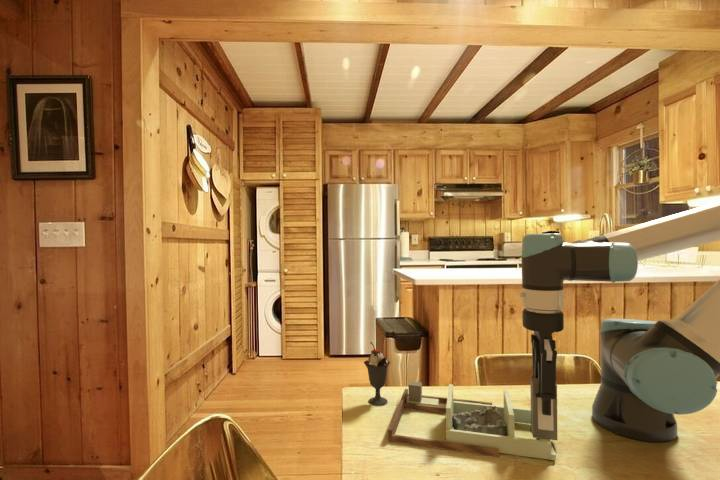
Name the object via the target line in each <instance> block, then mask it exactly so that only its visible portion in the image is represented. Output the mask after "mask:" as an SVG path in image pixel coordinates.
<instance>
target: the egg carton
mask: <svg viewBox="0 0 720 480" xmlns="http://www.w3.org/2000/svg"><path fill="white" fill-rule="evenodd" d="M496 406H497V405H496ZM496 406H493V407H492V406H489V407H487V406H486V407H482V409H481V410H474V411H471V412H462V413H460V414H456V413H455V414H453V416H452V417H453V428H452V429H454V430H462V431H470V432H478V433H486V434H494V435H501V436H507V435H506V427H507V423H505V421H504V419H501V416H500V413H499V412H498V411H497V409H496Z"/></svg>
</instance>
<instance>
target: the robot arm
mask: <svg viewBox="0 0 720 480" xmlns="http://www.w3.org/2000/svg"><path fill="white" fill-rule="evenodd" d="M718 241H720V201H716V202H712V203H709V204H705V205H703V206H702V205H701V206H698V207H695V208H692V209H689V210H685V211H680V212H678V213H675V214H674V213H673V214H670V215H667V216H664V217H660V218H657V219H652V220H649V221H647V222H643V223H639V224H636V225H633V226H630V227H625V228H621V229H618V230H614V231H612V232H608V233H604V234H602V235H598V236H594V237H590V238H587V239H584V240H582V239H580V240H579V239H578V240H575V241H573V242H565V240H564V237H563V234H561V233H556V232H555V233H527V234H525V235H524V236H523V237H522V240H521V255H520V256H521V280H522V281H521V284H522V286H521V287H522V292H519V293H518V296H519V297H520V298H522V307H523V310H522V326H523V328H525V329H526V330H528V331H532V332H533V333H531V334H530V343H531V356H532V357H531V359H532V360H531V362H532V375H531V378H538V382H539V393H538V394H537V393H535V397H538V429H542V430H550V431H554V427H553V399H556V384H557V356H558V351H557V350H556V349H557V348H556V347H557V345H556V343H557V342H556V340H555V339H554V338H553V334H554V333H559V332H562V331H563V330H564V327H565V325H564V324H565V323H564V320H565V319H564V313H563V311H562V310H563V309H564V308H565V307H564V306H565V305H564V304H565V301H564V300H565V297H564V295H565V294H564V293H565V291H564V281H570V282H572V281H579V282H606V283H607V282H611V284H612V283H613V284H614V283H618V282H621V283H622V282H631V281H633V280H634V279H635V277H636V276H637V272H638V268H639V267H638V265H639V264H638V263H639V261H645V260H647V259H651V258H656V257H659V256H664V255H668V254H671V253H675V252H679V251H682V250H687V249H690V248H695V247H698V246H702V245H706V244H711V243H713V242H718ZM599 335H600V339H599V340H600V384H599V388H598V390H597V393H596V395H595V398H594V400H593V403H592V406H591V409H592V410H591V412H592V413H591V415H592V419H593V421H595V423H597V424H598V425H599V426H600V427H602V428H604V429H606V430H608V431H610V432H613V433H614V434H617V435H619V436H623V437H626V438H629V439H633V440H637V441H642V442H643V441H644V442H650V443H651V442H652V443H667V442H671V441H674V440H675V439H676V438H677V437H678V423H677V420H676V417H675V415H680V416H681V415H691V414H695V413H697V412H700V411H702V410H704V409H705V408H707V407H708V406H710V404H712V402H713V401H714V400H715V398H716V396H717V393H718V389H717V386H718V380H717V379H718V378H719V377H720V279H718V280H717V281H716V282H715V283H714V284H713V285H712V286H710V287H709V288H708V289H707V290H706V291H705V292H704V293H703V294H701V295H700V296H699V297H698V298H697V299H696V300H695V301H693V303H692V304H691V305H689V306H688V307H687V308H686V309H684V311H683V312H681V313H680V314H679V315H678V316H677V317H676V318H673V319H659V320H658V321H654V320H645V319H632V318H605V319H603V320H602V321H601V323H600V330H599Z"/></svg>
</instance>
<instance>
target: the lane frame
mask: <svg viewBox="0 0 720 480" xmlns="http://www.w3.org/2000/svg"><path fill="white" fill-rule="evenodd" d="M408 396H409V389H408V388H405V389H404V390H403V393H402V395H401V398H400V400H399V402H398V404H397V407H396V409H395V411H394V414H393V418H392V419H391V421H390V424H389V426H388V429H387V441H388V442H392V443H398V444H407V445H414V446H420V447H426V448H435V449H440V450H441V449H443V450H448V451H454V452H455V451H456V452H463V453H470V454H478V455H484V456H489V457H497V458H498V457H499V455H500V453H499V450H498V449H497V448H489V447H482V446H474V445H467V444H460V443H452V442H446V440H445V441H444V440H437V439H431V438H430V439H429V438H421V437H414V436H407V435H399V434H396V433H397V429H398V427H399V424H400V422H401V419H402V417H403V414H404V411H405V410H413V411H421V412H432V413H438V414H439V413H441V414H446V405H447V397H443V396H442V397H441V396H432V395H423V394H422V397H423V398H432V399H439V405H438V406H430V405H421V404H412V403H406V401H407V399H408ZM453 401H461V402H470V403H480V404H486V405H493V402H491V401H479V400H470V399H461V398H453Z"/></svg>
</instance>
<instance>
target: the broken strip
mask: <svg viewBox="0 0 720 480" xmlns="http://www.w3.org/2000/svg"><path fill="white" fill-rule="evenodd" d="M407 389H408V394H409V396H408V399H407V401H406V403H412V404H421V405H430V406H438V405H439V399H432V398H423V397H422V395H423V384H422V382H419V381H412V380H411V381H409V383H408V388H407ZM458 402H461V401H458ZM467 403H470V402H467ZM477 404H480V403H477Z"/></svg>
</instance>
